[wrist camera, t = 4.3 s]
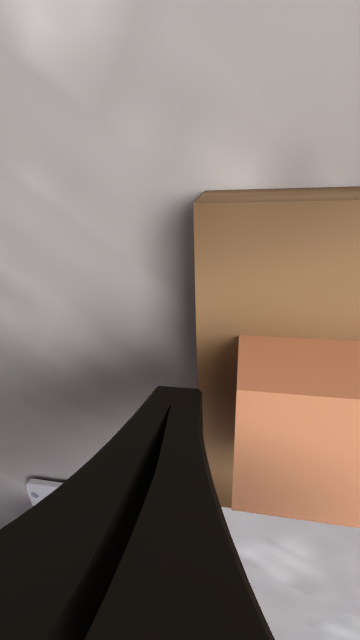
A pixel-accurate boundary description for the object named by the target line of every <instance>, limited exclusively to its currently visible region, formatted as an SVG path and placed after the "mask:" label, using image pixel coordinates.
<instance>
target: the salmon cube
mask: <svg viewBox="0 0 360 640" xmlns="http://www.w3.org/2000/svg"><path fill="white" fill-rule="evenodd" d="M231 510H236V511H243V512H250V513H257V514H264V515H271V516H278V517H285V518H292V519H299V520H306V521H313V522H320V523H327V524H334V525H341V526H348V527H355V528H360V341H348V340H328V339H308V338H288V337H268V336H248V335H239V346H238V369H237V391H236V414H235V437H234V461H233V485H232V508H231Z"/></svg>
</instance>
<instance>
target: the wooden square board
mask: <svg viewBox="0 0 360 640" xmlns="http://www.w3.org/2000/svg"><path fill="white" fill-rule="evenodd" d="M193 220H194V263H195V305H196V348H197V389H199V390H200V391H201V392H202V408H203V438H204V444H205V450H206V454H207V459H208V463H209V467H210V471H211V475H212V479H213V482H214V486H215V489H216V493H217V496H218V499H219V502H220V506H221V507H228V508H232V485H233V461H234V437H235V414H236V391H237V369H238V346H239V335H248V336H268V337H288V338H308V339H328V340H348V341H360V187H326V188H288V189H251V190H214V191H205V192H204V193H203V194H202V195H201V196H200V197H199V198H198V199H197V200H196V201H195V202H194V203H193Z"/></svg>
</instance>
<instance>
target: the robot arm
mask: <svg viewBox="0 0 360 640" xmlns="http://www.w3.org/2000/svg"><path fill="white" fill-rule="evenodd" d="M25 487H26V490H27V493H28V496H29V498H30V501H31V504H32V506H33V507H32V508H30V509H29V510H28V511H26V512H25V513H24V514H22V515H21V516H19V517H18V518H17V519H15V520H14V521H12V522H11V523H9V524H8V525H6V526H5V527H3V528H2V529H0V640H275V639H274V637H273V635H272V633H271V631H270V628H269V626H268V624H267V622H266V620H265V618H264V615H263V613H262V611H261V608H260V606H259V604H258V601H257V599H256V597H255V595H254V592H253V590H252V588H251V585H250V583H249V581H248V578H247V576H246V573H245V570H244V568H243V565H242V563H241V560H240V558H239V555H238V553H237V550H236V548H235V545H234V543H233V540H232V538H231V535H230V532H229V529H228V526H227V523H226V520H225V518H224V515H223V512H222V509H221V506H220V502H219V499H218V496H217V493H216V489H215V486H214V482H213V479H212V475H211V471H210V467H209V463H208V459H207V454H206V450H205V444H204V438H203V408H202V392H201V391H200V390H199V389H190V388H177V387H164V386H158V387H157V388H156V389H155V390H154V391H153V393H152V394H151V395H150V396H149V397H148V399H147V400H146V401H145V402H144V403H143V405H142V406H141V407H140V408H139V409H138V410H137V412H136V413H135V414H134V415H133V416H132V417H131V418H130V419H129V421H128V422H127V423H126V424H125V425H124V426H123V427H122V428H121V429H120V430H119V431H118V432H117V434H116V435H115V436H114V437H113V438H112V439H111V440H110V441H109V442H108V443H107V444H106V445H105V446H104V447H103V448H102V449H101V450H99V451H98V452H97V453H96V454H95V455H94V456H93V457H92V458H91V459H90V460H89V461H88V462H87V463H86V464H85V465H84V466H82V467H81V468H80V469H79V470H78V471H77V472H76V473H75V474H73V475H72V476H71V477H70V478H69V479H67V480H66V481H65V482H64V483H61V482H54V481H47V480H40V479H30V480H29V481H28V482H27V484H26V485H25Z"/></svg>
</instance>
